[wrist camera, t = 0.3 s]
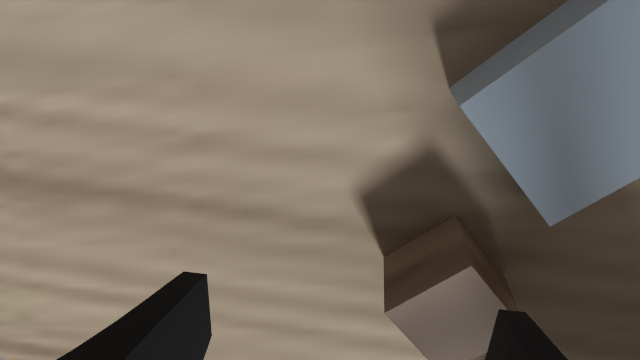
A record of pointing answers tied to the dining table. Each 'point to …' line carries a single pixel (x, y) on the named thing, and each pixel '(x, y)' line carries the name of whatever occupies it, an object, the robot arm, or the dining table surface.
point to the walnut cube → (445, 292)
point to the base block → (564, 105)
